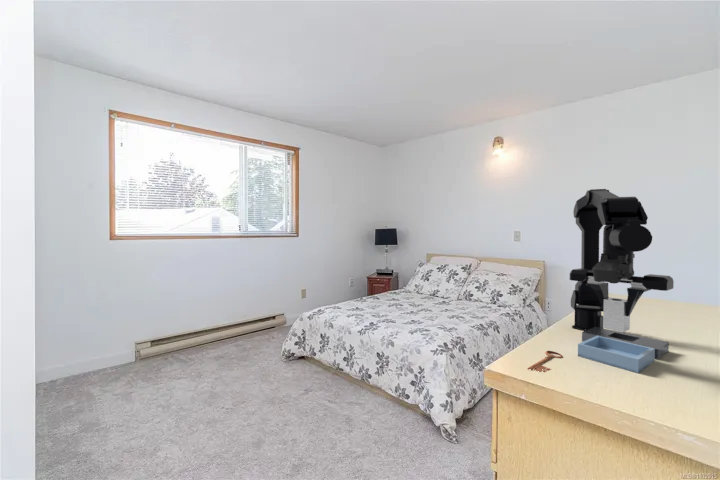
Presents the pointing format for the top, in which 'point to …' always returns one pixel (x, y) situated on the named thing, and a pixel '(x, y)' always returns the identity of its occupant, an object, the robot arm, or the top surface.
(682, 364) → the top surface
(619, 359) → the parts tray
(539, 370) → the key
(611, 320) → the small speaker box
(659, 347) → the gray square hole plate
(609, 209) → the robot arm
